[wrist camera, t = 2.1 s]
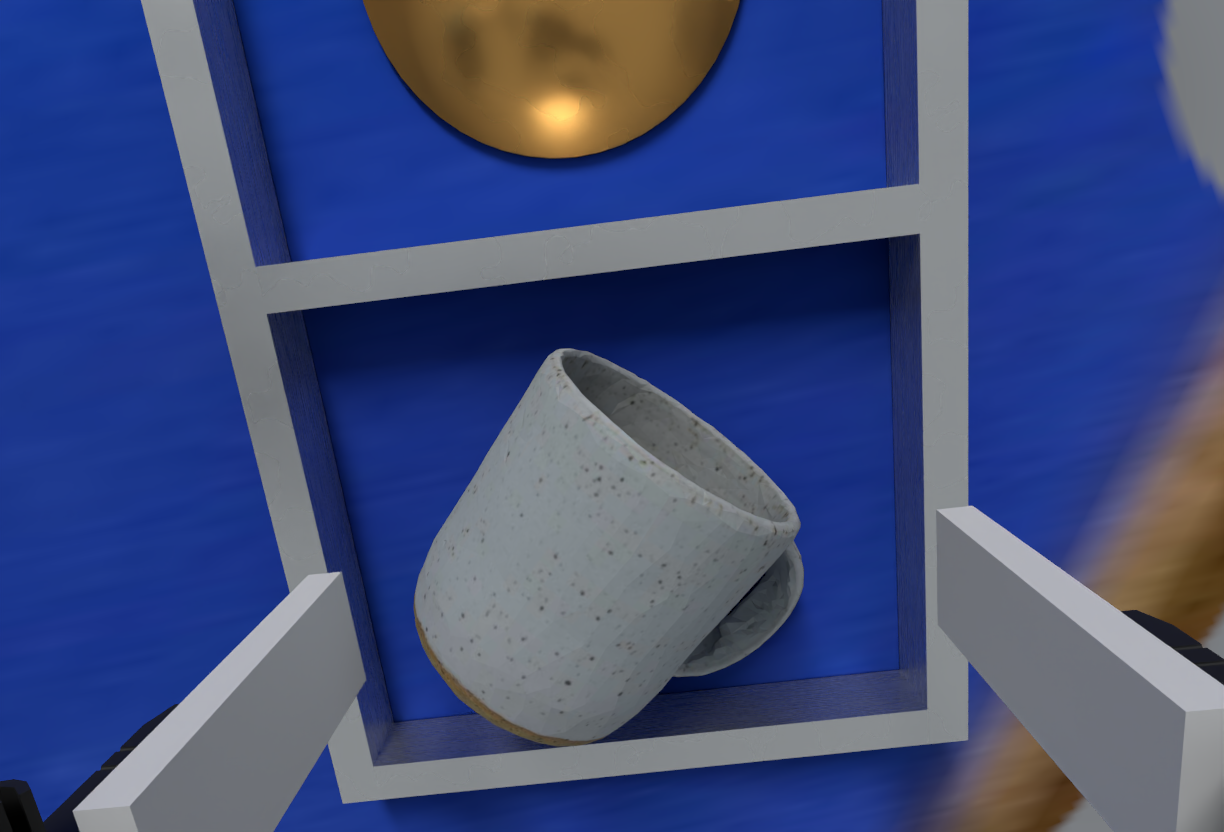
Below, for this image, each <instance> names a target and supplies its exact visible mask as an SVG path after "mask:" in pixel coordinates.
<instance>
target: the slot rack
mask: <svg viewBox="0 0 1224 832" xmlns="http://www.w3.org/2000/svg"><path fill="white" fill-rule="evenodd" d="M739 1H740V0H363V2H364V5H365V8H366V11H367V13H368V16H369V19H370V21H371V24H372V27H373V30H374V32H375V34H376V36H377V38H378V40H379V42H380V44H381V45H382V47H383V49H384V51H385V53H386V55H387V57H388V58H389V60H390V61H391V63H392V64H393V66H394V67H395V69H396V70H397V72H398V73H399V75H400V76H401V78H402V79H403V80H404V81H405V82H406V84H407V85H408V86H409V87H410V88H411V89H412V91H413V92H414V93H415V94H416V95H417V96H418V98H419V99H420V100H422V101H423V102H424V103H425V104H426V105H427V106H428V107H429V108H430V109H431V110H432V111H434V112H435V113H436V114H437V115H438V116H439V117H440V118H442V119H443V120H445V121H446V122H447V123H449V124H450V125H452V126H453V127H455V128H456V129H457V130H459V131H460V132H462V133H464V134H466V135H468V136H470V137H471V138H473V139H475V140H477V141H479V142H481V143H483V144H486V145H488V146H491V147H494V148H496V149H499V150H502V151H505V152H509V153H513V154H518V155H522V156H527V157H535V158H547V159H561V158H577V157H582V156H587V155H592V154H597V153H601V152H604V151H607V150H610V149H613V148H616V147H619V146H622V145H624V144H626V143H628V142H630V141H632V140H634V139H636V138H638V137H640V136H642V135H644V134H645V133H647V132H648V131H650V130H651V129H653V128H654V127H655V126H657V125H658V124H660V123H661V122H663V121H664V120H665V119H667V118H668V117H669V116H670V115H671V114H672V113H673V112H674V111H675V110H677V109H678V108H679V107H680V106H681V105H682V104H683V103H684V102H685V101H686V100H687V99H688V97H689V96H690V95H691V94H692V93H693V92H694V90H695V89H696V88H697V87H698V86H699V85H700V83H701V82H702V80H703V79H704V77H705V76H706V74H707V73H708V71H709V70H710V68H711V67H712V65H713V64H714V62H715V61H716V59H717V57H718V55H719V53H720V51H721V49H722V47H723V45H724V43H725V41H726V38H727V36H728V34H729V32H730V29H731V26H732V23H733V20H734V18H735V15H736V12H737V9H738V6H739ZM141 2H142V6H143V10H144V14H145V18H146V22H147V26H148V30H149V34H150V38H151V42H152V46H153V50H154V54H155V58H156V62H157V66H158V70H159V74H160V78H161V82H162V86H163V90H164V94H165V98H166V102H167V106H168V110H169V114H170V118H171V122H172V125H173V129H174V133H175V137H176V141H177V145H178V149H179V153H180V157H181V161H182V165H183V169H184V173H185V177H186V181H187V185H188V189H189V193H190V197H191V201H192V205H193V209H194V213H195V217H196V221H197V225H198V229H199V233H200V237H201V241H202V245H203V249H204V253H205V257H206V261H207V265H208V269H209V273H210V277H211V281H212V285H213V289H214V293H215V297H216V301H217V305H218V309H219V313H220V316H221V320H222V324H223V328H224V332H225V336H226V340H227V344H228V348H229V352H230V356H231V360H232V364H233V368H234V372H235V376H236V380H237V384H238V388H239V392H240V396H241V400H242V404H243V408H244V412H245V416H246V420H247V424H248V428H249V432H250V436H251V440H252V444H253V448H254V452H255V456H256V460H257V464H258V468H259V472H260V476H261V480H262V484H263V488H264V492H265V496H266V500H267V503H268V507H269V511H270V515H271V519H272V523H273V527H274V531H275V535H276V539H277V543H278V547H279V551H280V555H281V559H282V563H283V567H284V571H285V575H286V579H287V583H288V587H289V591H290V593H291V592H292V591H293V590H294V589H295V588H296V587H297V586H298V585H299V584H300V583H301V582H302V581H303V580H304V579H305V578H306V577H307V576H308V575H313V574H323V573H333V572H342V575H343V580H344V584H345V589H346V593H347V597H348V602H349V606H350V610H351V615H352V619H353V623H354V628H355V632H356V637H357V641H358V645H359V650H360V654H361V658H362V663H363V667H364V672H365V676H366V681H365V683H364V685H363V686H362V688H361V689H360V691H359V693H358V694H357V696H356V698H355V699H354V701H353V702H352V704H351V706H350V707H349V709H348V711H347V712H346V714H345V715H344V717H343V719H342V720H341V722H340V724H339V725H338V727H337V729H336V730H335V732H334V733H333V735H332V737H331V738H330V740H329V742H328V746H329V750H330V754H331V758H332V762H333V766H334V770H335V774H336V778H337V782H338V786H339V790H340V794H341V798H342V802H343V803H353V802H363V801H373V800H383V799H392V798H402V797H412V796H422V795H432V794H442V793H452V792H462V791H471V790H481V789H491V788H501V787H511V786H521V785H531V784H540V783H550V782H560V781H570V780H580V779H590V778H600V777H610V776H619V775H629V774H639V773H649V772H659V771H669V770H679V769H689V768H698V767H708V766H718V765H728V764H738V763H748V762H758V761H768V760H777V759H787V758H797V757H807V756H817V755H827V754H837V753H846V752H856V751H866V750H876V749H886V748H896V747H906V746H916V745H925V744H935V743H945V742H955V741H965V740H968V660H967V659H966V657H965V656H964V655H963V654H962V653H961V652H960V650H959V649H958V648H957V647H956V646H955V644H954V643H953V642H952V641H951V640H950V639H949V637H948V636H947V635H946V634H945V633H944V632H943V630H942V629H941V628H940V627H939V626H938V616H937V537H936V510H937V509H946V508H956V507H966V506H968V0H882V9H883V48H884V86H885V125H886V163H887V188H881V189H873V190H865V191H857V192H849V193H841V194H833V195H825V196H817V197H809V198H801V199H793V200H785V201H777V202H769V203H761V204H753V205H745V206H737V207H729V208H721V209H713V210H705V211H697V212H689V213H681V214H673V215H665V216H657V217H649V218H641V219H633V220H625V221H617V222H609V223H601V224H593V225H585V226H577V227H569V228H561V229H553V230H545V231H537V232H529V233H521V234H513V235H505V236H497V237H489V238H481V239H474V240H466V241H458V242H450V243H442V244H434V245H426V246H418V247H410V248H402V249H394V250H386V251H378V252H370V253H362V254H354V255H346V256H338V257H330V258H322V259H314V260H306V261H298V262H291V260H290V255H289V251H288V246H287V242H286V237H285V233H284V228H283V224H282V219H281V215H280V211H279V206H278V202H277V197H276V193H275V188H274V184H273V179H272V175H271V170H270V166H269V161H268V157H267V152H266V148H265V143H264V139H263V134H262V130H261V126H260V121H259V117H258V112H257V108H256V103H255V99H254V94H253V90H252V85H251V81H250V76H249V72H248V67H247V63H246V58H245V54H244V49H243V45H242V41H241V36H240V32H239V27H238V23H237V18H236V14H235V9H234V5H233V0H141ZM879 238H888V240H889V279H890V317H891V356H892V395H893V433H894V472H895V510H896V549H897V587H898V626H899V664H900V670H893V671H883V672H874V673H864V674H855V675H845V676H836V677H826V678H816V679H807V680H797V681H788V682H778V683H769V684H759V685H750V686H740V687H730V688H721V689H711V690H702V691H692V692H683V693H673V694H664V695H656V696H655V697H654V698H653V699H652V700H651V701H650V702H649V703H648V704H647V705H646V706H645V707H644V708H643V709H642V710H641V711H640V712H639V713H638V714H636V715H635V716H634V717H632V718H631V719H630V720H629V721H627V722H626V723H625V724H623V725H622V726H621V727H619V728H618V729H616V730H615V731H613V732H612V733H610V734H609V735H607V736H606V737H604V738H603V739H600V740H597V741H594V742H591V743H588V744H585V745H579V746H559V747H558V746H552V745H547V744H542V743H537V742H534V741H531V740H528V739H525V738H522V737H520V736H517V735H515V734H513V733H511V732H509V731H506V730H504V729H502V728H500V727H498V726H496V725H494V724H492V723H491V722H489V721H488V720H486V719H485V718H484V717H482V716H481V715H479V714H472V715H463V716H453V717H444V718H434V719H425V720H415V721H405V722H396V723H394V721H393V716H392V712H391V707H390V703H389V698H388V694H387V689H386V685H385V680H384V676H383V671H382V667H381V662H380V658H379V653H378V649H377V645H376V640H375V636H374V631H373V627H372V622H371V618H370V613H369V609H368V604H367V600H366V595H365V591H364V586H363V582H362V577H361V573H360V568H359V564H358V559H357V555H356V551H355V546H354V542H353V537H352V533H351V528H350V524H349V519H348V515H347V510H346V506H345V501H344V497H343V492H342V488H341V483H340V479H339V474H338V470H337V466H336V461H335V457H334V452H333V448H332V443H331V439H330V434H329V430H328V425H327V421H326V416H325V412H324V407H323V403H322V398H321V394H320V389H319V385H318V381H317V376H316V372H315V367H314V363H313V358H312V354H311V349H310V345H309V340H308V336H307V331H306V327H305V322H304V318H303V313H302V310H303V309H311V308H319V307H327V306H336V305H344V304H352V303H360V302H368V301H376V300H384V299H392V298H400V297H409V296H417V295H425V294H433V293H441V292H449V291H457V290H465V289H474V288H482V287H490V286H498V285H506V284H514V283H522V282H530V281H539V280H547V279H555V278H563V277H571V276H579V275H587V274H595V273H603V272H612V271H620V270H628V269H636V268H644V267H652V266H660V265H668V264H677V263H685V262H693V261H701V260H709V259H717V258H725V257H733V256H741V255H750V254H758V253H766V252H774V251H782V250H790V249H798V248H806V247H815V246H823V245H831V244H839V243H847V242H855V241H863V240H871V239H879Z"/></svg>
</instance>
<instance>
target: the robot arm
mask: <svg viewBox="0 0 1224 832" xmlns="http://www.w3.org/2000/svg"><path fill="white" fill-rule="evenodd" d="M936 537H937V616H938V626H939V627H940V628H941V629H942V630H943V632H944V633H945V634H946V635H947V636H948V637H949V639H950V640H951V641H952V642H953V643H954V644H955V646H956V647H957V648H958V649H959V650H960V652H961V653H962V654H963V655H964V656H965V657H966V659H967V660H968V661H969V662H970V663H971V664H972V666H973V667H974V668H975V669H976V670H977V671H978V673H979V674H980V675H981V676H982V677H983V679H984V680H985V681H986V682H987V683H988V684H989V686H990V687H991V688H992V689H993V690H994V691H995V693H996V694H997V695H998V696H999V697H1000V698H1001V700H1002V701H1003V702H1004V703H1005V704H1006V706H1007V707H1008V708H1009V709H1010V710H1011V711H1012V713H1013V714H1014V715H1015V716H1016V717H1017V718H1018V720H1019V721H1020V722H1021V723H1022V724H1023V725H1024V727H1025V728H1026V729H1027V730H1028V731H1029V733H1030V734H1031V735H1032V736H1033V737H1034V738H1035V740H1036V741H1037V742H1038V743H1039V744H1040V745H1041V747H1042V748H1043V749H1044V750H1045V751H1046V752H1047V754H1048V755H1049V756H1050V757H1051V758H1052V760H1053V761H1054V762H1055V763H1056V764H1057V765H1058V767H1059V768H1060V769H1061V770H1062V771H1063V772H1064V774H1065V775H1066V776H1067V777H1068V778H1069V779H1070V781H1071V782H1072V783H1073V784H1074V785H1075V787H1076V788H1077V789H1078V790H1079V791H1080V792H1081V794H1082V795H1083V796H1084V797H1085V798H1086V799H1087V801H1088V802H1089V803H1090V804H1091V805H1092V806H1093V808H1094V809H1095V810H1096V811H1097V812H1098V813H1099V815H1100V816H1101V817H1102V818H1103V819H1104V820H1105V822H1106V823H1107V824H1108V825H1109V826H1110V828H1111V829H1112V830H1113V831H1114V832H1224V659H1223V658H1221V657H1220V656H1218V655H1217V654H1215V653H1214V652H1212V651H1211V650H1209V649H1208V648H1202V645H1201V644H1200V643H1199V642H1197V641H1196V640H1194V639H1193V638H1192V637H1190V636H1189V635H1187V634H1186V633H1184V632H1183V631H1181V630H1180V629H1178V628H1177V627H1175V626H1174V625H1172V624H1169V623H1167V622H1164V621H1162V620H1159V619H1157V618H1154V617H1152V616H1150V615H1147V614H1145V613H1142V612H1140V611H1137V610H1130V611H1119V610H1118V609H1116V608H1115V607H1113V606H1112V605H1111V604H1109V603H1108V602H1106V601H1105V600H1104V599H1102V598H1101V597H1099V596H1098V595H1097V594H1095V593H1094V592H1092V591H1091V590H1090V589H1088V588H1087V587H1085V586H1084V585H1083V584H1081V583H1080V582H1078V581H1077V580H1076V579H1074V578H1073V577H1071V576H1070V575H1069V574H1067V573H1066V572H1064V571H1063V570H1062V569H1060V568H1059V567H1057V566H1056V565H1055V564H1053V563H1052V562H1050V561H1049V560H1048V559H1046V558H1045V557H1043V556H1042V555H1041V554H1039V553H1038V552H1036V551H1035V550H1034V549H1032V548H1031V547H1029V546H1028V545H1027V544H1025V543H1024V542H1022V541H1021V540H1020V539H1018V538H1017V537H1015V536H1014V535H1013V534H1011V533H1010V532H1008V531H1007V530H1006V529H1004V528H1003V527H1001V526H1000V525H999V524H997V523H996V522H994V521H993V520H992V519H990V518H989V517H987V516H986V515H985V514H983V513H982V512H980V511H979V510H978V509H976V508H975V507H973V506H966V507H956V508H946V509H937V510H936ZM365 681H366V676H365V672H364V667H363V663H362V658H361V654H360V650H359V645H358V641H357V637H356V632H355V628H354V623H353V619H352V615H351V610H350V606H349V602H348V597H347V593H346V589H345V584H344V580H343V575H342V572H333V573H323V574H313V575H308V576H307V577H306V578H305V579H304V580H303V581H302V582H301V583H300V584H299V585H298V586H297V587H296V588H295V589H294V590H293V591H292V592H291V593H290V594H289V595H288V596H287V597H286V598H285V599H284V600H283V601H282V602H281V603H280V604H279V605H278V606H277V607H276V608H275V609H274V610H273V611H272V612H271V613H270V614H269V615H268V616H267V617H266V618H265V619H264V620H263V621H262V622H261V623H260V624H259V625H258V626H257V627H256V628H255V629H254V630H253V631H252V632H251V633H250V634H249V635H248V636H247V637H246V638H245V639H244V640H243V641H242V642H241V643H240V644H239V645H238V646H237V647H236V648H235V649H234V650H233V651H232V652H231V653H230V654H229V655H228V656H227V657H226V658H225V659H224V660H223V661H222V662H221V663H220V664H219V665H218V666H217V667H216V668H215V669H214V670H213V671H212V672H211V673H210V674H209V675H208V676H207V677H206V678H205V679H204V680H203V681H202V682H201V683H200V684H199V685H198V686H197V687H196V688H195V689H194V690H193V691H192V692H191V693H190V694H189V695H188V696H187V697H186V698H185V699H184V700H183V701H182V702H181V703H180V704H175V705H173V706H172V707H170V708H169V709H167V710H166V711H164V712H163V713H161V714H160V715H158V716H157V717H155V718H154V719H152V720H151V721H149V722H147V723H146V724H144V725H143V726H142V727H141V728H140V729H139V730H138V731H137V732H136V733H135V734H134V735H133V736H132V737H131V738H130V739H129V740H128V741H127V742H126V743H125V744H124V745H123V746H122V747H121V750H120V752H115V753H114V754H113V755H112V756H111V757H110V758H109V759H108V760H107V761H106V762H105V763H104V764H103V765H102V766H101V770H100V771H96V772H95V773H94V774H93V775H92V776H91V777H90V778H89V779H88V780H86V781H85V782H84V783H83V784H82V785H81V786H80V787H79V788H78V789H77V790H76V791H75V792H74V793H73V794H72V795H71V796H70V797H69V798H68V799H67V800H66V801H65V802H64V803H63V804H62V805H61V806H60V807H59V808H58V809H57V810H56V811H55V812H53V813H52V814H51V815H50V816H49V817H48V818H47V819H46V820H45V821H44V822H43V821H42V818H41V816H40V813H39V810H38V808H37V805H36V802H35V800H34V797H33V794H32V792H31V789H30V787H29V785H28V783H27V782H26V781H21V780H15V779H12V780H6V781H0V832H273V831H274V830H275V828H276V826H277V825H278V823H279V821H280V820H281V818H282V817H283V815H284V813H285V812H286V810H287V808H288V807H289V805H290V804H291V802H292V800H293V799H294V797H295V795H296V794H297V792H298V790H299V789H300V787H301V786H302V784H303V782H304V781H305V779H306V777H307V776H308V774H309V773H310V771H311V769H312V768H313V766H314V764H315V763H316V761H317V759H318V758H319V756H320V755H321V753H322V751H323V750H324V748H325V746H326V745H327V743H328V742H329V740H330V738H331V737H332V735H333V733H334V732H335V730H336V729H337V727H338V725H339V724H340V722H341V720H342V719H343V717H344V715H345V714H346V712H347V711H348V709H349V707H350V706H351V704H352V702H353V701H354V699H355V698H356V696H357V694H358V693H359V691H360V689H361V688H362V686H363V685H364V683H365Z"/></svg>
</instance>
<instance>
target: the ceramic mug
mask: <svg viewBox="0 0 1224 832" xmlns="http://www.w3.org/2000/svg"><path fill="white" fill-rule="evenodd" d="M800 524H801V523H800V520H799V518H798V515H797V513H796V510H795V507H794V506H793V505H792V503H791V502H790V501H789V499H788V498H787V497H786V496H785V494H784V493H783V492H782V491H781V490H780V489H779V487H778V486H777V485H776V484H775V483H774V482H773V481H772V480H771V479H770V478H769V477H768V476H767V475H766V473H765V472H764V471H763V470H762V469H761V468H759V467H758V466H757V465H756V464H755V463H754V462H753V461H752V460H751V459H750V458H749V457H748V456H747V455H746V454H745V453H744V452H742V451H741V450H740V449H738V448H737V447H736V446H735V445H734V444H733V443H731V442H730V441H729V440H728V439H727V438H726V437H724V436H723V435H722V434H721V433H720V432H718V431H717V430H716V429H715V428H714V427H712V426H711V425H709V424H708V423H706V422H705V421H703V420H701V419H700V418H699V417H697V416H696V415H695V414H693V413H692V412H691V411H689V410H688V409H687V408H686V407H685V406H683V405H682V404H681V403H679V402H678V401H676V400H675V399H673V398H672V397H670V396H669V395H667V394H665V393H664V392H662V391H661V390H659V389H658V388H656V387H654V386H653V385H651V384H650V383H649V382H647V381H646V380H644V379H641V378H639V377H637V376H636V375H635V374H634V373H632V372H630V371H627V370H625V369H623V368H621V367H619V366H617V365H616V364H614V363H612V362H610V361H608V360H606V359H604V358H601V357H599V356H596V355H594V354H592V353H590V352H588V351H579V350H575V349H570V348H567V349H558V350H556V351H554V352H553V353H551V354H550V355H549V356H548V357H547V358H546V360H545V361H544V363H543V364H542V366H541V367H540V369H539V370H538V372H537V373H536V375H535V377H534V379H533V381H532V382H531V384H530V386H529V388H528V389H527V391H526V392H525V394H524V396H523V397H522V399H521V400H520V402H519V404H518V405H517V407H516V408H515V410H514V412H513V413H512V415H511V417H510V418H509V420H508V421H507V423H506V424H505V426H504V428H503V429H502V431H501V432H500V434H499V436H498V437H497V439H496V440H495V442H494V443H493V445H492V447H491V448H490V450H489V451H488V453H487V455H486V457H485V458H484V460H483V462H482V464H481V465H480V467H479V469H478V471H477V473H476V474H475V476H474V477H473V479H472V480H471V482H470V484H469V485H468V487H467V488H466V490H465V492H464V493H463V495H462V496H461V498H460V499H459V501H458V503H457V504H456V506H455V507H454V509H453V511H452V512H451V514H450V515H449V517H448V518H447V520H446V522H445V523H444V525H443V526H442V528H441V529H440V531H439V532H438V534H437V536H436V537H435V539H434V541H433V543H432V546H431V548H430V550H429V553H428V555H427V558H426V561H425V563H424V565H423V568H422V570H421V572H420V574H419V578H418V582H417V586H416V591H415V595H414V614H415V622H416V628H417V631H418V634H419V637H420V640H421V643H422V646H423V648H424V650H425V652H426V654H427V656H428V658H429V660H430V661H431V663H432V665H433V666H434V667H435V669H436V670H437V671H438V673H439V674H440V675H441V677H442V678H443V679H444V681H445V682H446V683H447V684H448V686H449V687H450V688H451V690H452V691H453V692H454V694H455V695H456V696H457V697H458V698H459V699H460V700H461V701H463V702H464V703H465V704H466V705H468V706H469V707H470V708H471V709H473V710H474V711H475V712H477V713H478V714H479V715H481V716H482V717H484V718H485V719H486V720H488V721H489V722H491V723H492V724H494V725H496V726H498V727H500V728H502V729H504V730H506V731H509V732H511V733H513V734H515V735H517V736H520V737H522V738H525V739H528V740H531V741H534V742H537V743H542V744H547V745H552V746H558V747H559V746H579V745H585V744H588V743H591V742H594V741H597V740H600V739H603V738H604V737H606V736H607V735H609V734H610V733H612V732H613V731H615V730H616V729H618V728H619V727H621V726H622V725H623V724H625V723H626V722H627V721H629V720H630V719H631V718H632V717H634V716H635V715H636V714H638V713H639V712H640V711H641V710H642V709H643V708H644V707H645V706H646V705H647V704H648V703H649V702H650V701H651V700H652V699H653V698H654V697H655V696H656V695H657V694H658V693H659V692H660V691H661V690H662V689H663V687H664V686H665V685H666V684H667V682H668V681H669V680H670V679H671V677H672V676H674V677H686V676H702V675H706V674H709V673H712V672H715V671H717V670H720V669H723V668H725V667H727V666H729V665H731V664H733V663H735V662H737V661H739V660H741V659H743V658H744V657H746V656H747V655H749V654H750V653H752V652H753V651H754V650H756V649H757V648H759V647H760V646H761V645H762V644H763V643H764V642H765V641H766V640H768V639H769V638H770V637H771V636H772V635H773V634H774V633H775V632H776V631H777V630H778V629H779V628H780V627H781V626H782V624H783V623H784V622H785V621H786V619H787V618H788V617H789V615H790V614H791V612H792V611H793V609H794V607H795V605H796V603H797V601H798V600H799V597H800V595H801V592H802V588H803V580H804V568H803V564H802V561H801V555H800V553H799V551H798V549H797V547H796V544H795V543H794V541H793V540H794V538H795V536H796V535H797V533H798V531H799V529H800ZM765 572H766V574H765V576H764V577H763V578H762V580H761V581H760V583H759V584H758V585H757V586H756V587H755V588H754V589H753V591H752V592H751V593H750V594H749V595H748V596H747V597H746V598H745V599H744V600H743V601H742V602H740V603H739V604H738V605H737V607H736V608H735V609H734V610H733V611H732V613H731V614H729V615H728V616H726V615H727V614H728V613H729V612H730V610H731V609H732V608H733V607H734V606H735V605H736V604H737V603H738V602H739V601H740V600H741V599H742V597H743V596H744V595H745V594H746V593H747V592H748V591H749V590H750V589H751V587H752V586H753V585H754V584H755V583H756V582H757V581H758V580H759V579H760V578H761V576H762V575H763V574H764V573H765ZM725 616H726V617H725ZM724 617H725V618H724Z"/></svg>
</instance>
